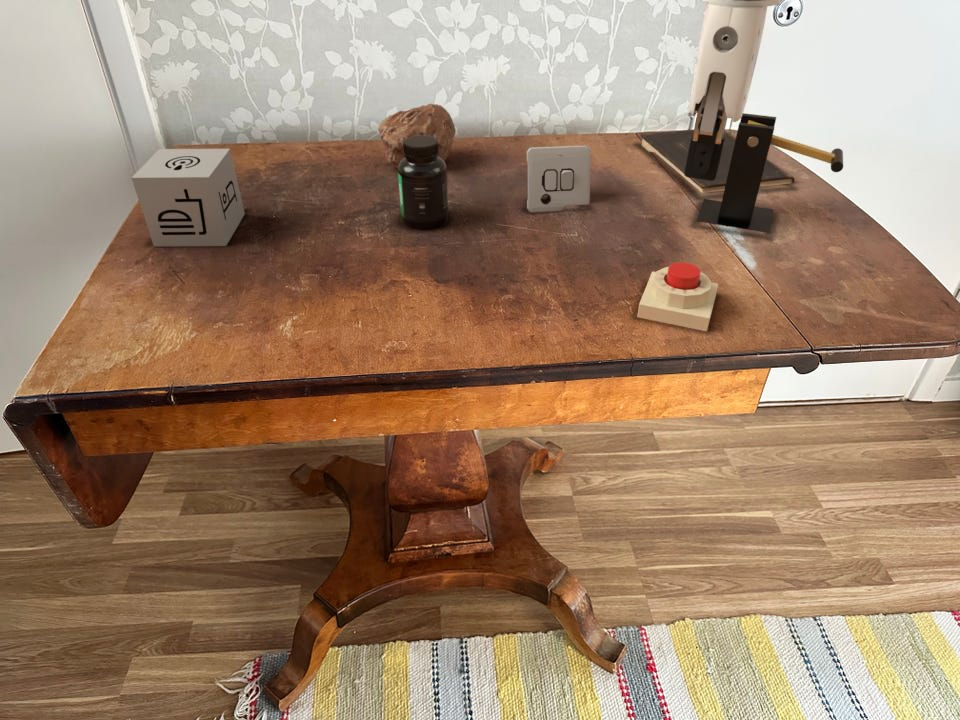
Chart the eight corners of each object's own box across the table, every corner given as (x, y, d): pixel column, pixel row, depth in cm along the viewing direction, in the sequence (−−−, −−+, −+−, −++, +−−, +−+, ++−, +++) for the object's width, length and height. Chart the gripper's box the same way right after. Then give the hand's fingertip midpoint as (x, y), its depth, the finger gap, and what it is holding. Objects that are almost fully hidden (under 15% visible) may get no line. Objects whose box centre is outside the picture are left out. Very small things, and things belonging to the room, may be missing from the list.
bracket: (771, 216, 104) (799, 115, 95) (767, 240, 98) (796, 135, 89) (702, 205, 107) (722, 107, 97) (694, 228, 101) (715, 125, 92)
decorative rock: (448, 148, 125) (446, 91, 119) (465, 172, 117) (464, 112, 111) (375, 157, 122) (370, 98, 116) (387, 182, 114) (382, 120, 108)
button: (699, 278, 83) (702, 265, 82) (695, 293, 80) (698, 280, 79) (668, 273, 84) (671, 260, 83) (663, 287, 81) (665, 274, 80)
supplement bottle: (395, 229, 101) (388, 148, 93) (410, 209, 106) (404, 130, 99) (441, 234, 99) (437, 152, 92) (453, 213, 105) (451, 134, 97)
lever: (837, 163, 95) (846, 146, 93) (837, 177, 91) (847, 160, 89) (742, 133, 97) (749, 116, 95) (738, 145, 93) (746, 128, 92)
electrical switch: (527, 214, 104) (529, 152, 99) (522, 203, 109) (524, 142, 104) (589, 212, 105) (594, 149, 100) (582, 200, 109) (586, 140, 104)
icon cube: (226, 246, 97) (208, 177, 91) (153, 246, 97) (131, 177, 91) (244, 213, 105) (230, 148, 99) (178, 214, 105) (159, 149, 99)
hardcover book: (699, 200, 108) (702, 186, 107) (638, 147, 126) (640, 134, 124) (792, 190, 111) (795, 176, 109) (719, 139, 129) (722, 126, 127)
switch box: (715, 298, 86) (721, 270, 83) (706, 334, 80) (713, 304, 78) (649, 286, 88) (654, 258, 86) (636, 319, 82) (641, 290, 80)
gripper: (780, 0, 56) (729, 211, 67) (789, -30, 67) (743, 156, 78) (685, -8, 58) (651, 198, 70) (709, -35, 69) (675, 146, 81)
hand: (700, 175), depth 74 cm, fingers closed
